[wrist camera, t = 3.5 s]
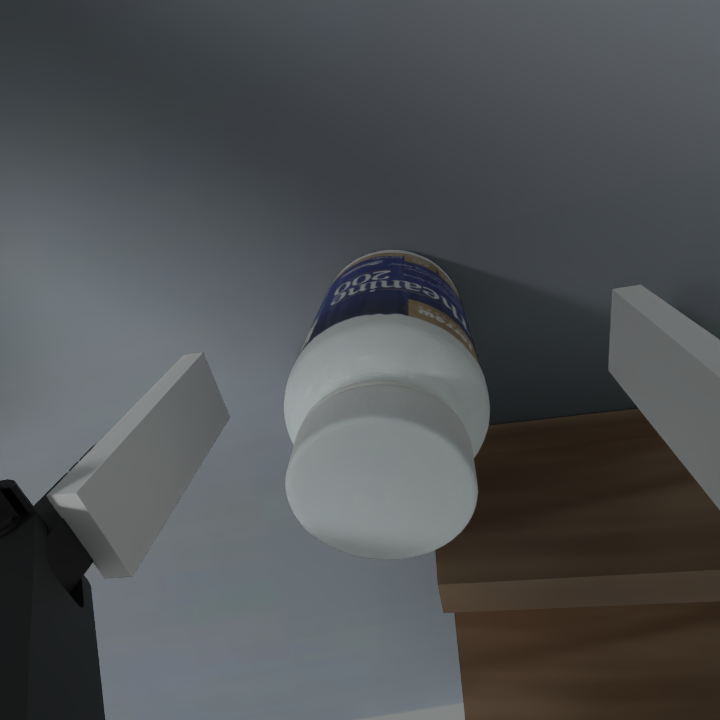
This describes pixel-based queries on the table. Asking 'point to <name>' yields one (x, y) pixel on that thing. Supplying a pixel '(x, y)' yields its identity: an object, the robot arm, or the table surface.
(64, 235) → the table surface
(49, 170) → the table surface
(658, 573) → the u rest
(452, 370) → the pill bottle
